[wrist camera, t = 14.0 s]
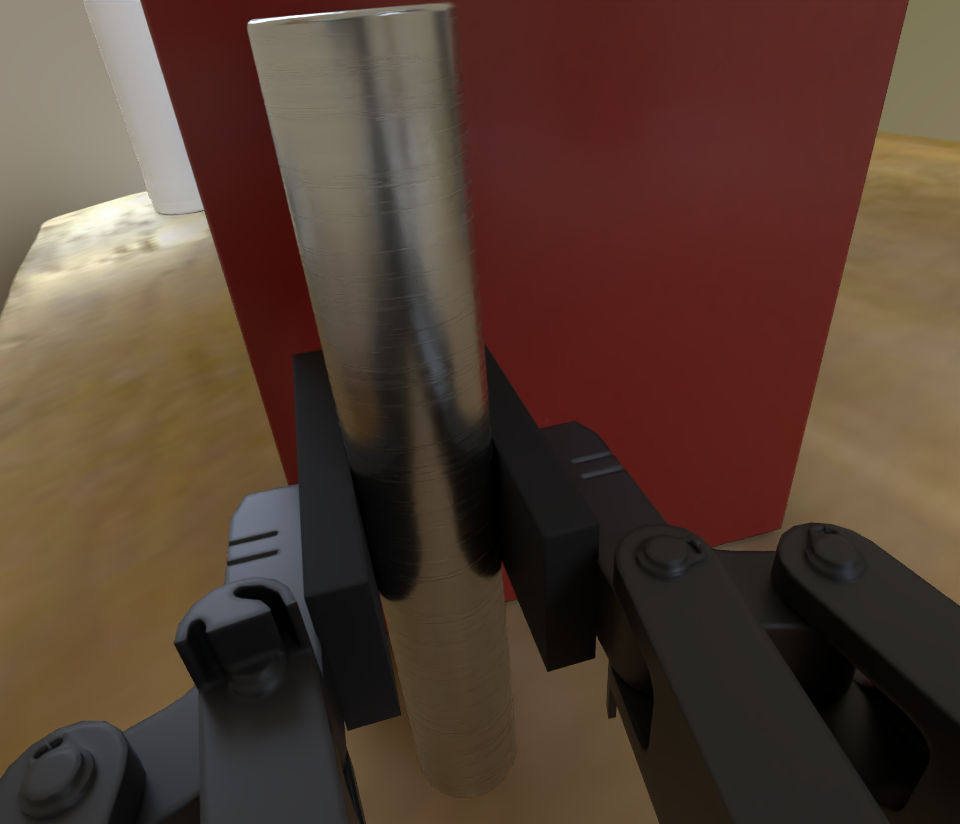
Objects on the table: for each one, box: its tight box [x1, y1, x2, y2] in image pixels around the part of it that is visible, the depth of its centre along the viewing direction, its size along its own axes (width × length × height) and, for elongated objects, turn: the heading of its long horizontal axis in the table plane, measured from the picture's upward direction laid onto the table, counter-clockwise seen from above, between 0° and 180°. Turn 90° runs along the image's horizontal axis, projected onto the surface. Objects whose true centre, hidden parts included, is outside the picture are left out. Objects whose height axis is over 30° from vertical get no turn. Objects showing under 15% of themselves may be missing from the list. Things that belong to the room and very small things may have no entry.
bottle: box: [83, 0, 204, 215], centre depth 64 cm, size 8×8×30 cm
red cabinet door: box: [140, 0, 909, 798], centre depth 14 cm, size 8×16×20 cm, turn 105°
